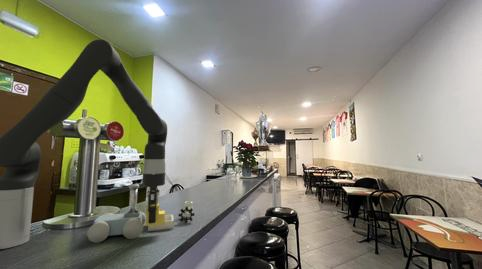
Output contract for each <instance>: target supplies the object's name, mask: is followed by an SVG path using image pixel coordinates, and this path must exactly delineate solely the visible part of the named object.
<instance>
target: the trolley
mask: <svg viewBox="0 0 482 269" xmlns="http://www.w3.org/2000/svg"><path fill="white" fill-rule="evenodd" d="M145 223H146V214H145V213H144V211H141V209H136V213H131V214H129V210H126V212H124V213H115V214H114V213H111V212H106V213H104V214H101V215H100V216H98V217H97V218H96V219H95V220H94V221H93V224H92V225H91V226H90V227H88V228H89V229H88V231H87V233H86V234H87V238H88V240H89V241H90V242H91V243H95V244H96V243H97V244H98V243H101V242H103V241H105V240H106V239H107V237H108V236H109V237H110V236H119V235H123V237H125V238H126V239H128V240H129V239H130V240H131V239H132V240H133V239H136V238H138V237H139V236H140V235H141V234H142V232H143V228H144V225H145Z"/></svg>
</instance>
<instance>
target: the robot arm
mask: <svg viewBox="0 0 482 269" xmlns="http://www.w3.org/2000/svg"><path fill="white" fill-rule="evenodd" d="M120 57H121V56H120V54H119V53H118V51H116V49H115V47H114V46H113V45H112V44H111V43H110V42H109V41H107V40H105V39H94V40H92V41H90V42H88V44H87V45H86V46H84V49H83V50H82V51H81V53H80V54H79V55H78V57H77V58H76V60H74V62H73V64H72V65H71V66H69V68H68V69H67V71H66V72H64V74H63V75H62V76H61V77H60V78H59V79H58V81H56V83H55V84H53V85H52V86H51V87H50V88H49V89H48V90H47V92H45V94H43V96H42V97H41V98H40V99H39V100H38V102H37V103H36V104H34V106H33V107H32V108H31V109H30V110H29V111H28V112H27V113H25V115H24V116H23V117H22V119H20V120H19V122H17V123H16V124H15V125H14V126H12V128H11V127H10V129H9V130H8V131H7V132H5V133H4V134H3V135H1V137H0V168H6V169H5V171H4V173H3V174H2V175H1V176H0V250H4V249H9V248H13V247H17V246H20V245H24V244H25V243H27V242H29V241H30V235H31V223H32V213H33V203H34V202H33V201H34V191H35V184H36V181H37V179H38V177H39V173H40V166H41V160H42V150H41V146H40V144H39V143H38V142H37V141H38V139H39V138H40V137H41V136H42V135H44V134H45V133H46V132H48V131H49V130H51V129H52V128H54V127H56V126H58V125H59V124H61V123H63V122H64V121H66V120H68V118H70V117H71V116H72V115H73V114H74V112H76V110H77V109H78V108H79V107H80V106H81V105H82V103H83V101H84V100H85V98H86V95H87V90H88V87H89V84H90V82H91V80H92V78H94V76H95V75H96V74H97V73H98V72H99V71H100V72H102V73H103V74H104V75H105V76H106V77H107V78H109V80H111V82H112V83H113V84H114V86H115V87H116V88H117V90H118V92H119V93H120V96H121V98H122V99H123V101H124V102H125V104H126V106H127V107H128V108H129V109H130V111H131V112H132V113H133V114H134V116H135V117H136V120H137V121H138V123H139V125H140V126H141V128H142V129H143V130H144V132H145V133H146V134H147V143H145V146H144V156H143V158H144V159H143V166H142V182H141V184H142V187H148V188H149V190H147V193H146V196H147V200H146V201H147V204H148V212H149V223H155V222H156V210H157V208H156V205H157V204H158V203H159V201H160V200H159V196H160V191H161V190H160V189H159V188H158V187H161V186H164V185H165V184H166V142H167V137H168V124H167V123H166V121H165V120H164V119H162V118H161V116H160V115H159V114H158V113H157V112H156V111H155V109H154V108H153V105H152V103H151V102H150V100H149V99H148V97H147V96H146V95H145V93H144V92H143V91H142V90H141V88H140V87H139V86H138V85H137V84H136V83H135V82H134V80H133V79H132V78H131V76H130V74H129V73H128V71H127V69H126V67H125V66H124V64H123V61H122V59H121V58H120ZM147 204H146V205H147ZM151 205H155V207H152V208H150V206H151Z"/></svg>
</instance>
